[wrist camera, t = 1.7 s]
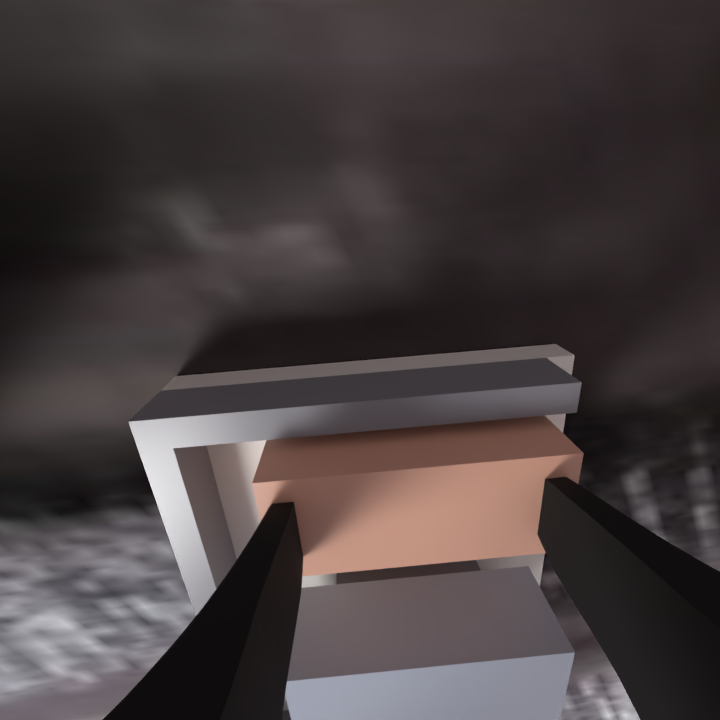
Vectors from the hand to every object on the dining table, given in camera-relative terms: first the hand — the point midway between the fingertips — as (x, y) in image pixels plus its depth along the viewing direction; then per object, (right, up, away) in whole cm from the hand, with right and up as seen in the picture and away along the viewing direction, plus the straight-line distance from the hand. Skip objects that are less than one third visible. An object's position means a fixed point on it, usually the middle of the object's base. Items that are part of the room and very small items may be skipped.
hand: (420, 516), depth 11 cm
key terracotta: (0, +1, +3) cm, 3 cm away
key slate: (0, -5, +4) cm, 7 cm away
